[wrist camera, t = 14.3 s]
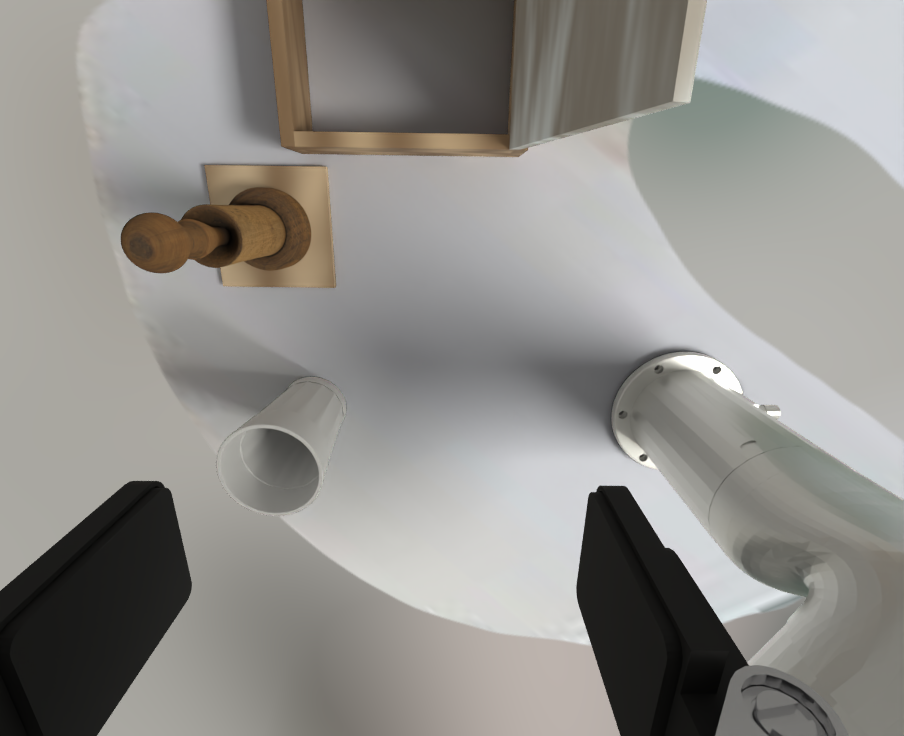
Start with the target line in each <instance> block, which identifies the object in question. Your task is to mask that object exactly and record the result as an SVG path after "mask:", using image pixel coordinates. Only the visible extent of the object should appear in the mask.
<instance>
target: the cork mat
mask: <svg viewBox="0 0 904 736" xmlns="http://www.w3.org/2000/svg"><path fill="white" fill-rule="evenodd" d="M204 166H205V172H206V179H207V185H208V192H209V198H210V204H211V205H229V204H230V202H231V201H232V199H233V198H234V197H235V196H236V195H237V194H239V193H240V192H242V191H244V190H247V189H250V188H256V187H262V188H273V189H277V190H281V191H283V192H285V193H287V194H289V195H290V196H292V197H293V198H294V199H296V200H297V201H298V202H299V204H300V205H301V206H302V207H303V209H304V210H305V212H306V214H307V216H308V219H309V222H310V226H311V243H310V246H309V249H308V251H307V253H306V255H305V256H304V257H303V258H302V259H301V260H300V261H299V262H298V263H296V264H295V265H293V266H290V267H288V268H284V269H280V270H274V271H267V270H261V269H258V268H255V267H253V266H251V265H249V264H247V263H246V262H244V261H243V262H239V263H236V264H232V265H229V266H225V267H220V269H221V275H222V282H223V286H240V287H318V288H335V287H336V279H335V265H334V251H333V237H332V223H331V209H330V196H329V182H328V168H327V167H312V166H242V165H204Z"/></svg>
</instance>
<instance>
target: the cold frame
mask: <svg viewBox="0 0 904 736" xmlns="http://www.w3.org/2000/svg"><path fill="white" fill-rule="evenodd" d="M266 1H267V11H268V21H269V31H270V41H271V50H272V60H273V70H274V80H275V90H276V99H277V109H278V119H279V129H280V139H281V146H282V147H285V148H287V149H290V150H293V151H296V152H299V153H301V154H348V155H417V156H487V157H519V156H520V155H522V154H523V153H525V152H526V151H527V150H528V147H532V146H536V145H539V144H543V143H547V142H550V141H554V140H557V139H561V138H565V137H568V136H572V135H575V134H579V133H583V132H586V131H590V130H593V129H597V128H601V127H604V126H608V125H612V124H615V123H619V122H622V121H626V120H630V119H633V118H637V117H640V116H644V115H648V114H651V113H655V112H658V111H662V110H665V109H669V108H673V107H676V106H680V105H684V104H687V103H690V100H691V94H692V88H693V82H694V76H695V70H696V64H697V58H698V52H699V46H700V40H701V34H702V28H703V22H704V16H705V10H706V3H707V0H514V13H513V34H512V54H511V75H510V96H509V116H508V134H448V133H380V132H313V129H312V117H311V104H310V92H309V79H308V67H307V54H306V42H305V30H304V17H303V5H302V0H266Z"/></svg>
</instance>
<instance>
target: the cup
mask: <svg viewBox="0 0 904 736" xmlns="http://www.w3.org/2000/svg"><path fill="white" fill-rule="evenodd" d="M345 415H346V402H345V398H344V396H343V394H342V393H341V391H340V390H339V389H338V388H337V387H336V386H335V385H334V384H333V383H331V382H329V381H328V380H325V379H323V378H319V377H304V378H301V379H298V380H296V381H295V382H293V383H292V384H291V385H290V386H289V387H288V388H287V389H286V390H285V391H284V393H283V394H281V395H280V396H279V397H278V398H277V399H275V400H274V401H273V402H272V403H271V404H269V405H268V406H267V407H266V408H265V409H263V410H262V411H261V412H260V413H259V414H257V415H256V416H254V417H252V418H251V419H250V420H249V421H247V422H246V423H245V424H244V425H242V426H241V427H240V428H238V429H237V430H236V431H235V432H233V433H232V434H231V435H230V436H228V437H227V438H226V440H225V441H224V442H223V444H222V445H221V447H220V449H219V451H218V455H217V461H216V468H217V473H218V477H219V480H220V482H221V484H222V486H223V488H224V489H225V491H226V492H227V493H228V494H229V496H231V498H232V499H234V500H235V501H236V502H237V503H238V504H240V505H241V506H243V507H245V508H247V509H249V510H251V511H253V512H256V513H260V514H263V515H270V516H284V515H290V514H293V513H296V512H299V511H301V510H303V509H304V508H306V507H307V506H309V505H310V504H311V503H312V502H313V501H314V500H315V499H316V497H317V496H318V494H319V492H320V490H321V487H322V484H323V480H324V477H325V474H326V471H327V467H328V464H329V460H330V457H331V454H332V451H333V448H334V445H335V442H336V439H337V436H338V433H339V430H340V427H341V424H342V422H343V420H344V418H345Z"/></svg>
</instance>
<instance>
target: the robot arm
mask: <svg viewBox="0 0 904 736" xmlns="http://www.w3.org/2000/svg"><path fill="white" fill-rule="evenodd" d="M656 366H657V368H655V367H656ZM621 411H622V412H621ZM620 412H621V413H620ZM780 412H781V411H780V408H779V407H778V406H777V405H757V404H756V403H754V402H753V401H751V400H750V399H748V398H746V397H745V396H743V391H742V389H741V386H740V383H739V381H738V379H737V378H736V376H735V375H734V373H733V372H732V371H731V370H730V369H729V368H728V367H727V366H725V365H724V364H723V363H721V362H719V361H718V360H716V359H714V358H712V357H710V356H707V355H705V354H701V353H696V352H675V353H669V354H665V355H662V356H659V357H657V358H654V359H652V360H650V361H649V362H647V363H645V364H643V365H642V366H641V367H639V368H638V369H637V370H635V371H634V372H633V373H632V374H631V375H630V376H629V377H628V378H627V379H626V381H625V382H624V383H623V385H622V386H621V388H620V389H619V391H618V393H617V395H616V398H615V400H614V403H613V408H612V413H611V422H612V428H613V433H614V436H615V438H616V440H617V442H618V444H619V445H620V446H621V448H622V449H623V451H624V452H625V453H626V454H627V455H628V456H629V457H630V458H631V459H633V460H634V461H636V462H637V463H639V464H641V465H643V466H646V467H649V468H652V469H657V470H659V471H660V472H661V474H662V475H663V476H664V477H665V479H666V480H667V481H668V482H669V484H670V485H671V486H672V488H673V489H674V490H675V491H676V493H677V494H678V495H679V496H680V498H681V499H682V500H683V502H684V503H685V504H686V505H687V507H688V508H689V509H690V510H691V512H692V513H693V514H694V516H695V517H696V518H697V519H698V521H699V522H700V523H701V524H702V526H703V527H704V528H705V529H706V531H707V532H708V533H709V535H710V536H711V537H712V538H713V540H714V541H715V542H716V543H717V544H718V546H719V547H720V548H721V549H722V551H723V552H724V553H725V555H726V556H727V557H728V558H729V559H730V560H731V561H732V562H733V563H734V564H735V565H736V566H737V567H738V568H739V569H740V570H742V571H743V572H744V573H745V574H747V575H748V576H750V577H752V578H753V579H755V580H757V581H758V582H760V583H762V584H765V585H767V586H770V587H772V588H775V589H777V590H780V591H783V592H787V593H791V594H794V595H798V596H802V597H806V599H805V601H804V603H803V604H802V605H801V606H800V607H799V608H798V609H797V610H796V611H795V612H794V614H793V615H792V616H791V617H790V618H789V619H788V621H787V624H785V625H784V627H782V629H780V631H778V632H777V633H776V634H775V636H773V637H772V638H771V639H770V640H769V641H768V642H767V643H766V644H765V645H764V646H763V647H762V648H761V649H760V650H759V651H758V652H757V653H756V654H755V655H754V656H753V657H752V658H751V659H750V660H749V661H748V662H746V660H745V659H744V657H743V656H742V654H741V652H740V651H739V649H738V648H737V646H736V645H735V643H734V642H733V640H732V639H731V637H730V635H729V634H728V632H727V631H726V629H725V628H724V626H723V625H722V623H721V621H720V620H719V618H718V617H717V615H716V614H715V612H714V611H713V609H712V608H711V606H710V604H709V603H708V601H707V600H706V598H705V597H704V595H703V594H702V592H701V591H700V589H699V588H698V586H697V584H696V583H695V581H694V580H693V578H692V577H691V575H690V574H689V572H688V571H687V569H686V568H685V566H684V564H683V563H682V561H681V560H680V558H679V557H678V555H677V554H676V553H675V552H674V551H673V550H671V549H670V548H665V547H664V546H663V544H662V542H661V541H660V539H659V538H658V536H657V534H656V533H655V531H654V530H653V528H652V526H651V525H650V523H649V522H648V520H647V518H646V517H645V515H644V514H643V512H642V510H641V509H640V507H639V506H638V504H637V502H636V501H635V499H634V498H633V496H632V494H631V493H630V491H629V490H628V488H627V487H625V486H599V487H598V489H597V492H591V493H590V494H589V497H588V504H587V512H586V519H585V526H584V534H583V541H582V549H581V556H580V564H579V571H578V579H577V588H576V589H577V600H578V604H579V607H580V610H581V614H582V617H583V620H584V623H585V626H586V629H587V632H588V635H589V639H590V642H591V645H592V648H593V651H594V654H595V657H596V660H597V664H598V667H599V670H600V673H601V676H602V679H603V682H604V685H605V689H606V692H607V695H608V698H609V701H610V704H611V707H612V710H613V714H614V717H615V720H616V723H617V726H618V729H619V732H620V735H621V736H904V500H903V499H902V498H900V497H898V496H897V495H895V494H893V493H892V492H890V491H888V490H887V489H885V488H883V487H882V486H880V485H878V484H877V483H875V482H873V481H872V480H870V479H868V478H867V477H865V476H863V475H862V474H860V473H859V472H857V471H856V470H854V469H852V468H851V467H849V466H848V465H846V464H845V463H843V462H842V461H840V460H839V459H837V458H835V457H834V456H832V455H831V454H829V453H827V452H826V451H824V450H823V449H821V448H820V447H818V446H816V445H815V444H813V443H812V442H810V441H809V440H807V439H806V438H804V437H803V436H801V435H800V434H798V433H797V432H795V431H794V430H792V429H790V428H789V427H787V426H786V425H784V424H783V423H781V422H780V421H778V420H777V419H778V418H779V417H780ZM191 587H192V582H191V577H190V573H189V569H188V564H187V560H186V555H185V551H184V546H183V543H182V538H181V533H180V529H179V525H178V520H177V516H176V511H175V508H174V503H173V498H172V494H171V491H170V490H169V489H168V488H165V487H164V485H163V484H162V483H161V482H159V481H131V482H129V483H127V484H125V485H124V486H123V487H122V488H121V489H119V490H118V491H117V492H116V493H115V494H114V495H112V496H111V497H110V498H109V499H108V500H106V501H105V502H104V503H103V504H102V505H101V506H99V507H98V508H97V509H96V510H95V511H93V512H92V513H91V514H90V515H89V516H88V517H86V518H85V519H84V520H83V521H82V522H81V523H79V524H78V525H77V526H76V527H75V528H74V529H72V530H71V531H70V532H69V533H68V534H66V535H65V536H64V537H63V538H62V539H61V540H59V541H58V542H57V543H56V544H55V545H54V546H52V547H51V548H50V549H49V550H48V551H47V552H46V553H44V554H43V555H42V556H41V557H40V558H38V559H37V560H36V561H35V562H34V563H33V564H31V565H30V566H29V567H28V568H27V569H25V570H24V571H23V572H22V573H21V574H20V575H18V576H17V577H16V578H15V579H14V580H13V581H11V582H10V583H9V584H8V585H7V586H5V587H4V588H3V589H2V590H1V591H0V736H97V735H98V733H99V732H100V730H101V729H102V727H103V726H104V724H105V723H106V721H107V720H108V718H109V717H110V715H111V714H112V712H113V711H114V709H115V708H116V706H117V705H118V703H119V702H120V700H121V699H122V697H123V696H124V694H125V693H126V691H127V690H128V688H129V687H130V685H131V684H132V682H133V681H134V679H135V678H136V676H137V675H138V673H139V672H140V670H141V669H142V667H143V666H144V664H145V663H146V661H147V660H148V658H149V657H150V655H151V654H152V652H153V651H154V649H155V648H156V647H157V645H158V644H159V642H160V640H161V639H162V638H163V636H164V634H165V633H166V632H167V630H168V628H169V627H170V626H171V624H172V622H173V621H174V620H175V618H176V617H177V615H178V614H179V612H180V611H181V609H182V608H183V606H184V605H185V603H186V602H187V600H188V598H189V596H190V593H191Z"/></svg>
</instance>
